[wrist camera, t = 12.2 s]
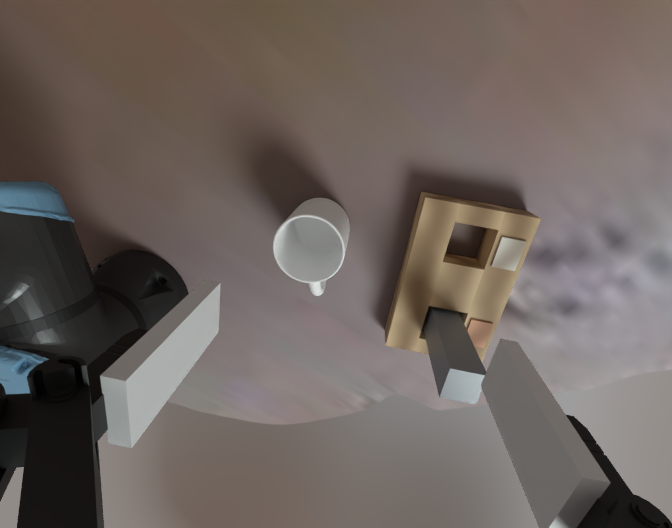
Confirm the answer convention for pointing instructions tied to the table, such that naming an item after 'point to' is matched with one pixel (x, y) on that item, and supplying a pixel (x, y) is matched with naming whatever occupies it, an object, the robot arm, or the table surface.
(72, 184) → the table surface
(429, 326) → the plug
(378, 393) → the table surface
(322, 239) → the mug
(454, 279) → the port block
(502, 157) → the table surface
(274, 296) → the table surface
